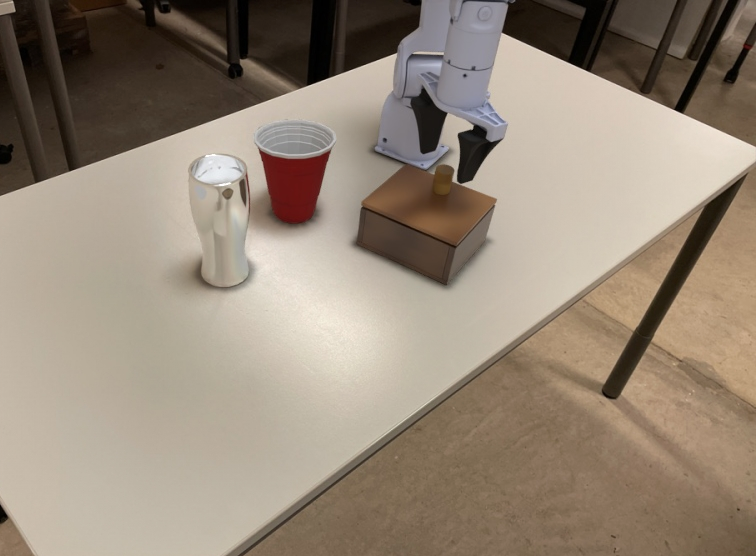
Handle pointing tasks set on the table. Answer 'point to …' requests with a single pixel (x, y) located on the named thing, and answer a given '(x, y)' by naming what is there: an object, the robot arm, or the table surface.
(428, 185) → the lid
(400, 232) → the box
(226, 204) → the beer glass
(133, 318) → the table surface
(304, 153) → the plastic cup
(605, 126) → the table surface
